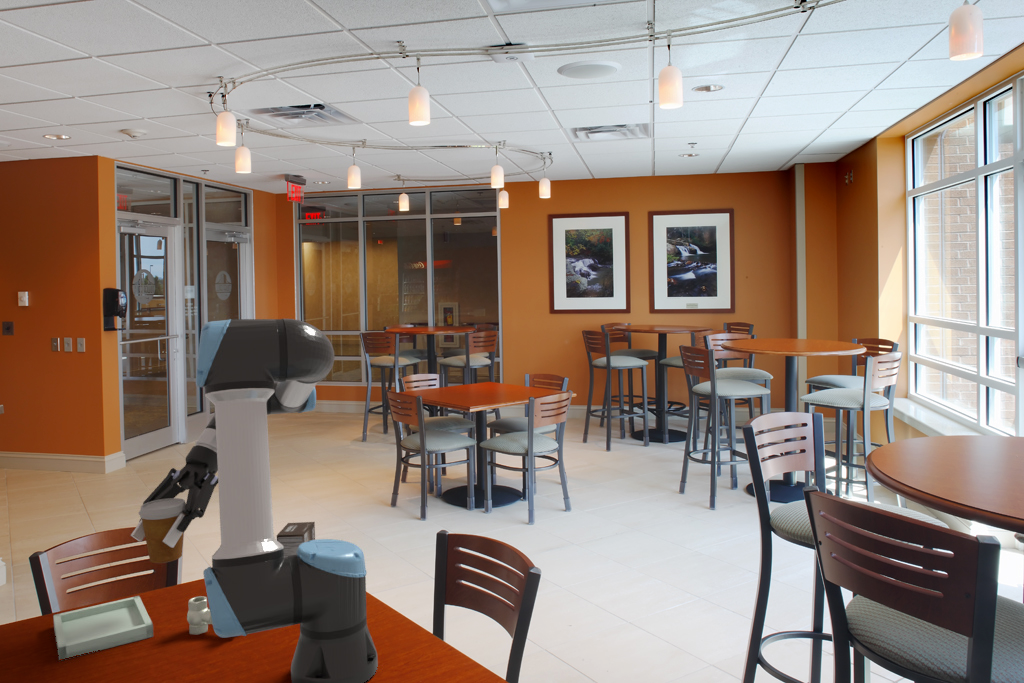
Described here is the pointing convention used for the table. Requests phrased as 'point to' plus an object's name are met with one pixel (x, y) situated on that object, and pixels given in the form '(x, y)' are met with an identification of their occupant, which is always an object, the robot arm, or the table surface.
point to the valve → (198, 615)
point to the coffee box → (295, 536)
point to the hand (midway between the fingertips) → (151, 541)
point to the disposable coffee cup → (161, 528)
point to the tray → (101, 627)
